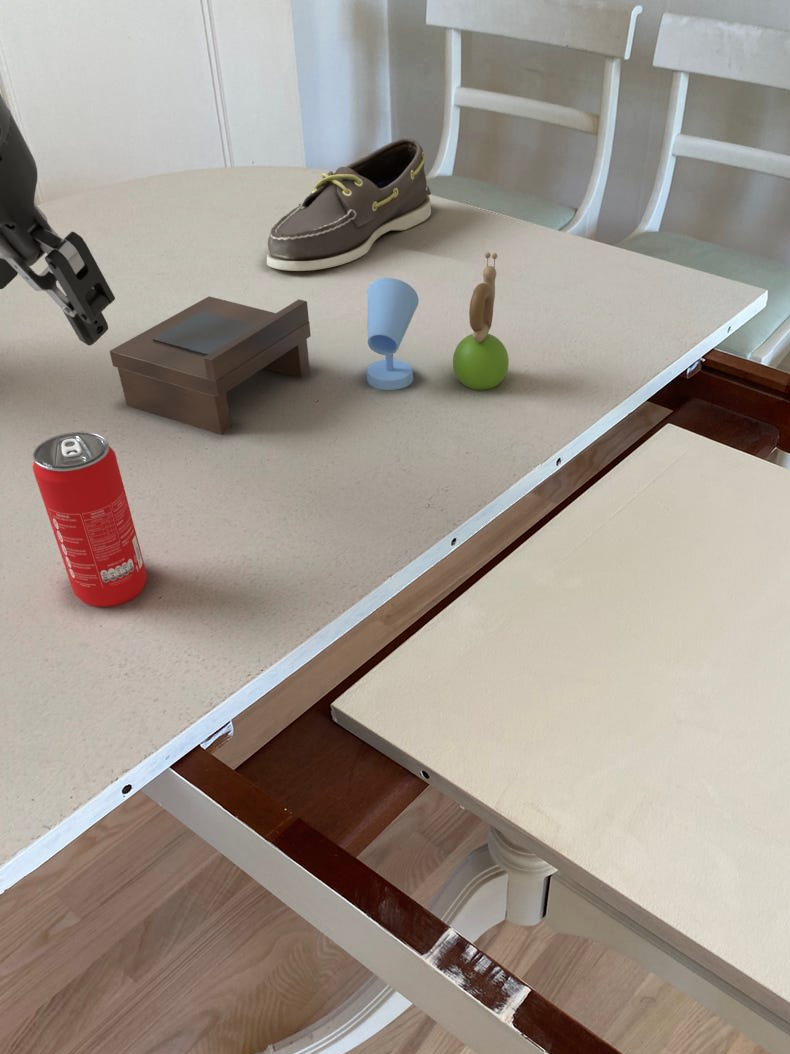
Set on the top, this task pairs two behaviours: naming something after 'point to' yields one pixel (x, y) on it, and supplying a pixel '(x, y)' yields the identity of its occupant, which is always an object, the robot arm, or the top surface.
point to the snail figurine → (481, 340)
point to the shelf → (209, 358)
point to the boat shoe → (353, 209)
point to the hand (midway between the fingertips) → (51, 307)
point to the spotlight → (389, 331)
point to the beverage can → (90, 517)
